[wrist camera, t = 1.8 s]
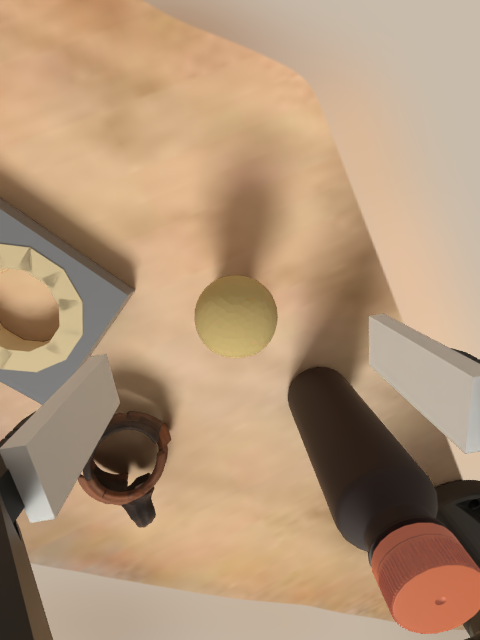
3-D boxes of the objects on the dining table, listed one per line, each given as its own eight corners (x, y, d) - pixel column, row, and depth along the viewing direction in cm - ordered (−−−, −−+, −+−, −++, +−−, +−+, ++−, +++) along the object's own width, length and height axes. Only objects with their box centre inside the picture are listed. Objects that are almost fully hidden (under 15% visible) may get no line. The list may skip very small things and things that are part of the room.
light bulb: (263, 328, 32) (282, 370, 22) (201, 329, 31) (192, 372, 22) (265, 265, 30) (286, 281, 20) (199, 265, 30) (189, 282, 20)
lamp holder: (135, 290, 30) (127, 295, 27) (62, 395, 32) (49, 409, 30) (-5, 194, 27) (-28, 190, 24) (-73, 319, 29) (-100, 327, 27)
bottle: (358, 395, 35) (531, 600, 15) (310, 431, 36) (417, 665, 16) (323, 353, 33) (468, 524, 14) (274, 391, 34) (345, 602, 15)
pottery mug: (65, 432, 34) (49, 449, 27) (145, 389, 38) (151, 392, 30) (115, 527, 35) (114, 571, 27) (190, 475, 38) (207, 500, 31)
